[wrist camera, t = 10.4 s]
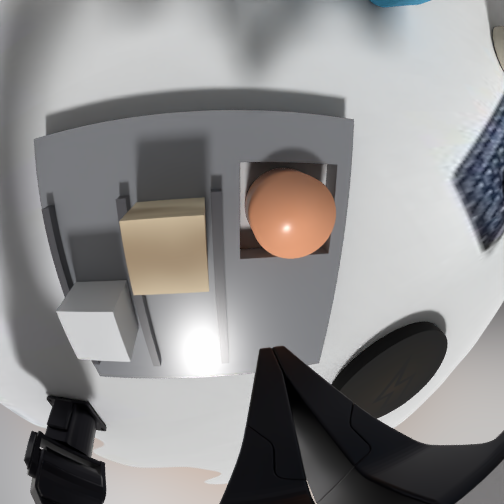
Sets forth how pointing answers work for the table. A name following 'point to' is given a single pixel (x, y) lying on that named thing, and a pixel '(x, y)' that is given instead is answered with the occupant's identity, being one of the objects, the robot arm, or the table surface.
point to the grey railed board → (217, 231)
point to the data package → (397, 2)
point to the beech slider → (166, 246)
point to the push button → (290, 212)
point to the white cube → (100, 320)
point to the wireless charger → (393, 368)
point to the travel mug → (499, 43)
